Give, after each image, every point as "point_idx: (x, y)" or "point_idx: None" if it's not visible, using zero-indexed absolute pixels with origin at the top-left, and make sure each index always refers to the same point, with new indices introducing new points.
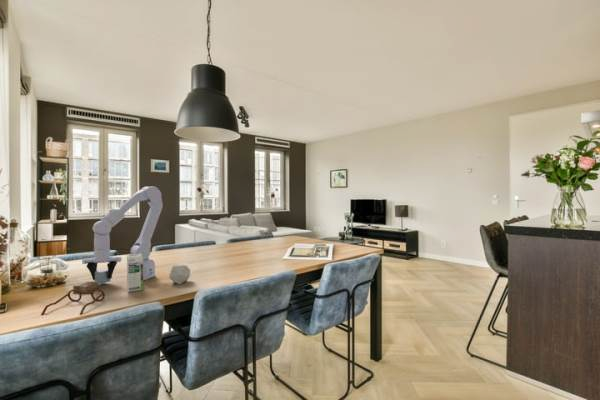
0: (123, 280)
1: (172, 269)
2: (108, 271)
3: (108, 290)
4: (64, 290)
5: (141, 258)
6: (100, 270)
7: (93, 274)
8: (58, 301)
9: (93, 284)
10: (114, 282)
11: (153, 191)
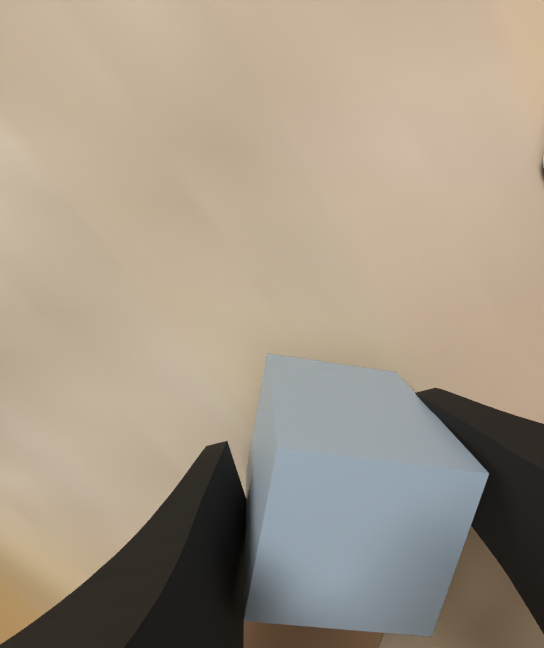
0: (499, 219)
1: None
2: (514, 577)
3: (502, 588)
4: (35, 608)
5: None
6: (287, 513)
7: (241, 600)
8: None
9: None
10: (419, 318)
11: None
